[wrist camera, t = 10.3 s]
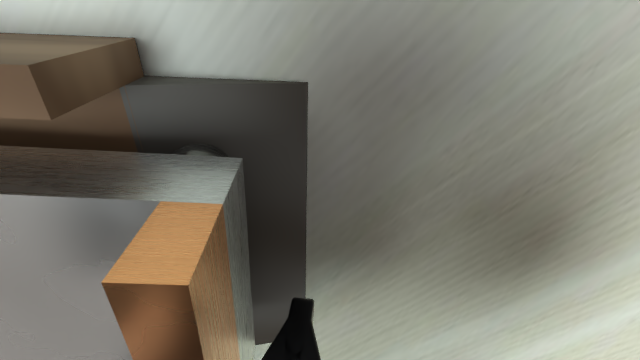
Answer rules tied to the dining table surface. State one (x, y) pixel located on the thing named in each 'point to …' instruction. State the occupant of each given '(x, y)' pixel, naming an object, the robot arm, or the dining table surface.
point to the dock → (172, 137)
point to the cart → (124, 255)
